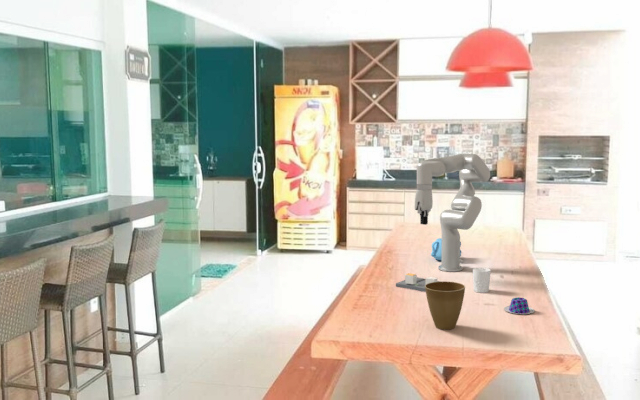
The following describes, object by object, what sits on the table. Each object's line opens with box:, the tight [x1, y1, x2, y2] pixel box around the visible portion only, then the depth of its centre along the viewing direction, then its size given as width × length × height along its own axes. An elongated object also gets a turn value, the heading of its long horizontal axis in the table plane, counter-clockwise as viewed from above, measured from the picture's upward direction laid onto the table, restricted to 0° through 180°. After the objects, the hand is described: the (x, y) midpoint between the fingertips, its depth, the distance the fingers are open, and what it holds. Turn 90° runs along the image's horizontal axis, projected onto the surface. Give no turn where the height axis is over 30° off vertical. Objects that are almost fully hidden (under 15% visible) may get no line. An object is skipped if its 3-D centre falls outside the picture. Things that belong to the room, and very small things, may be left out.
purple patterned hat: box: [503, 296, 536, 315], centre depth 260 cm, size 12×12×5 cm
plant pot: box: [425, 280, 466, 331], centre depth 240 cm, size 15×15×16 cm
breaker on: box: [425, 276, 438, 284], centre depth 292 cm, size 3×4×4 cm
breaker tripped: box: [404, 272, 417, 284], centre depth 299 cm, size 3×4×4 cm
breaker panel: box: [395, 277, 441, 293], centre depth 299 cm, size 16×24×2 cm, turn 50°
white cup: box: [472, 267, 492, 294], centre depth 291 cm, size 8×8×10 cm
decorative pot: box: [430, 237, 462, 261], centre depth 357 cm, size 16×16×14 cm
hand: (424, 224), depth 314 cm, fingers closed
